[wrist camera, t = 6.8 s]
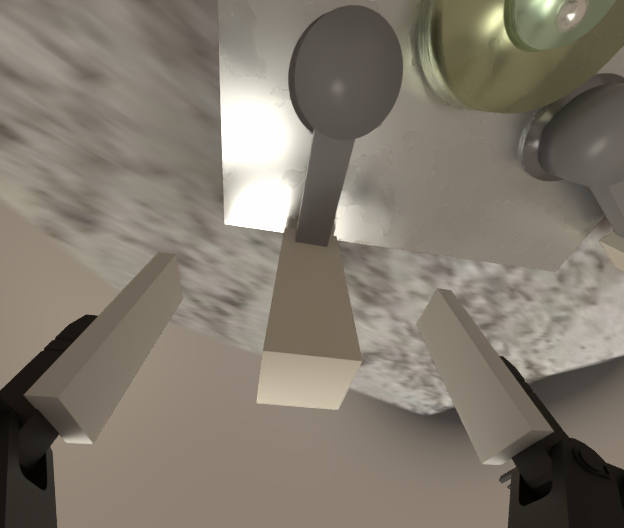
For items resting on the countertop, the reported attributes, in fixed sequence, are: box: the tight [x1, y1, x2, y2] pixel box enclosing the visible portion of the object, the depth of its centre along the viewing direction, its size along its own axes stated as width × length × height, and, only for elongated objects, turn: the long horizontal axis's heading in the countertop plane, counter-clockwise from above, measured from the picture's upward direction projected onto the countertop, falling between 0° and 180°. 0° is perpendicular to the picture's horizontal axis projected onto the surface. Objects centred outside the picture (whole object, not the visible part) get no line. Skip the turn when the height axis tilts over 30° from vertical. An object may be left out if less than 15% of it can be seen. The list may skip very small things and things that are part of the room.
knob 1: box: [257, 5, 403, 410], centre depth 10 cm, size 13×4×9 cm, turn 169°
